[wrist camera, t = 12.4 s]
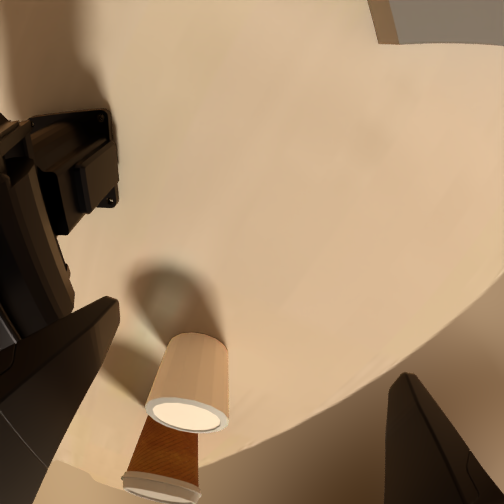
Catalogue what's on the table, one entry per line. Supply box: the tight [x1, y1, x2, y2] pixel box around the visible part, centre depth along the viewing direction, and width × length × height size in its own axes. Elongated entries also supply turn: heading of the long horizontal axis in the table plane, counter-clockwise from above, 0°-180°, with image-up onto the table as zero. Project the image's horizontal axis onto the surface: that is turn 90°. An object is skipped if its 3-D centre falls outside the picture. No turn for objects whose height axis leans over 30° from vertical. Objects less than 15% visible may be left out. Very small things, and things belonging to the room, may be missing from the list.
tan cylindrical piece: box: [145, 332, 229, 433], centre depth 26 cm, size 7×7×7 cm
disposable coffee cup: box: [121, 415, 202, 504], centre depth 33 cm, size 10×10×12 cm
